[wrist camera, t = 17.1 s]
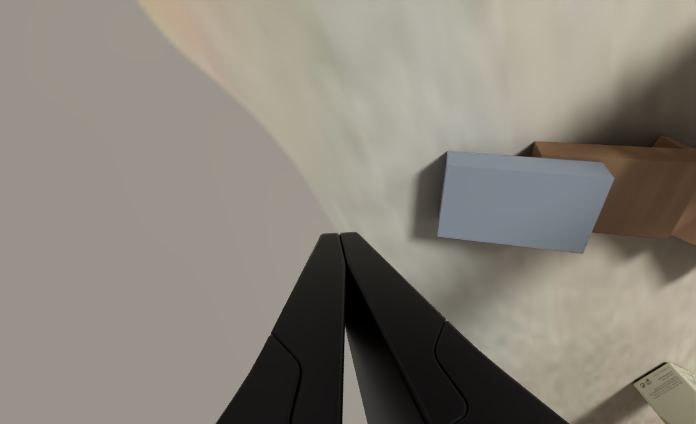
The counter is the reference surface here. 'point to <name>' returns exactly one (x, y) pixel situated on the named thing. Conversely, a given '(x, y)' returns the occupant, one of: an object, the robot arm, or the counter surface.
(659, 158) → the domino
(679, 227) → the domino
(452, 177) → the domino
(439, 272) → the counter surface
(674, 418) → the skincare box
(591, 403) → the counter surface
